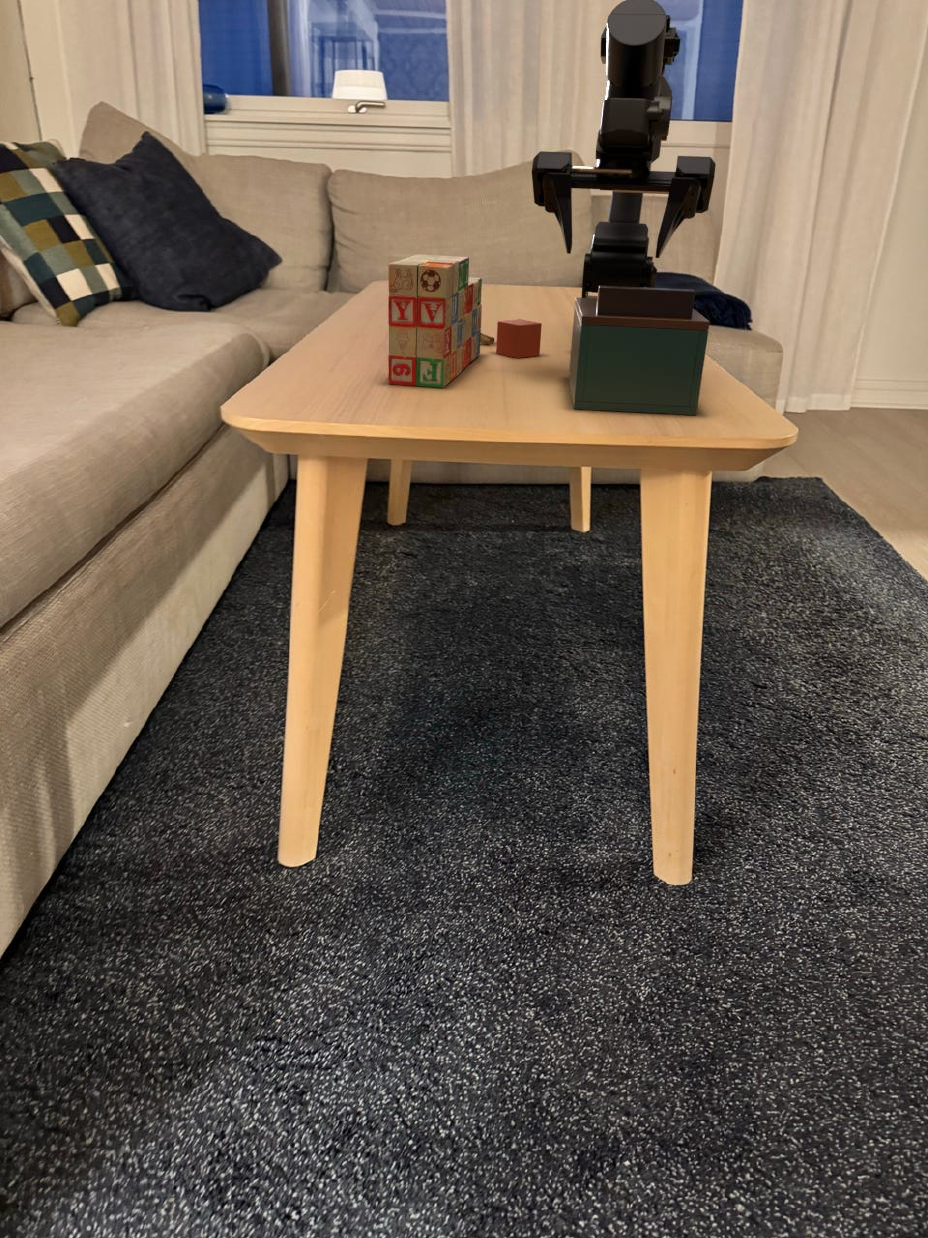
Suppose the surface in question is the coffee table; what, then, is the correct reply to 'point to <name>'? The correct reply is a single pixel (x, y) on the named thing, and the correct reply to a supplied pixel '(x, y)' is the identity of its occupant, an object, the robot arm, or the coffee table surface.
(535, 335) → the block
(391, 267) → the stack of blocks
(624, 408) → the box
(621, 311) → the lid
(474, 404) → the coffee table surface
